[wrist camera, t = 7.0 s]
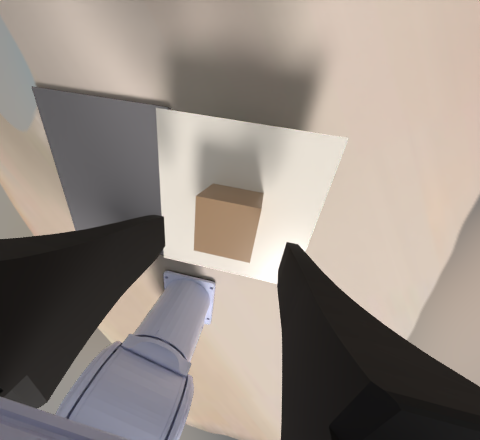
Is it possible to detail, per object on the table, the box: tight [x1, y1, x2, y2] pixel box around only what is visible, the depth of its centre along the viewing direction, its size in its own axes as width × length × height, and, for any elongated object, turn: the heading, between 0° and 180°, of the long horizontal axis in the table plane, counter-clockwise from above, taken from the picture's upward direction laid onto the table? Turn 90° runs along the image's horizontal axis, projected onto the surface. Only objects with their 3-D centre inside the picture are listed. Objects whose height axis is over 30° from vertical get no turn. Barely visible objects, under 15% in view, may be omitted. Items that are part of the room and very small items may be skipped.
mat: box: [32, 87, 171, 255], centre depth 21 cm, size 18×15×1 cm
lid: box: [156, 108, 349, 284], centre depth 13 cm, size 13×13×4 cm
